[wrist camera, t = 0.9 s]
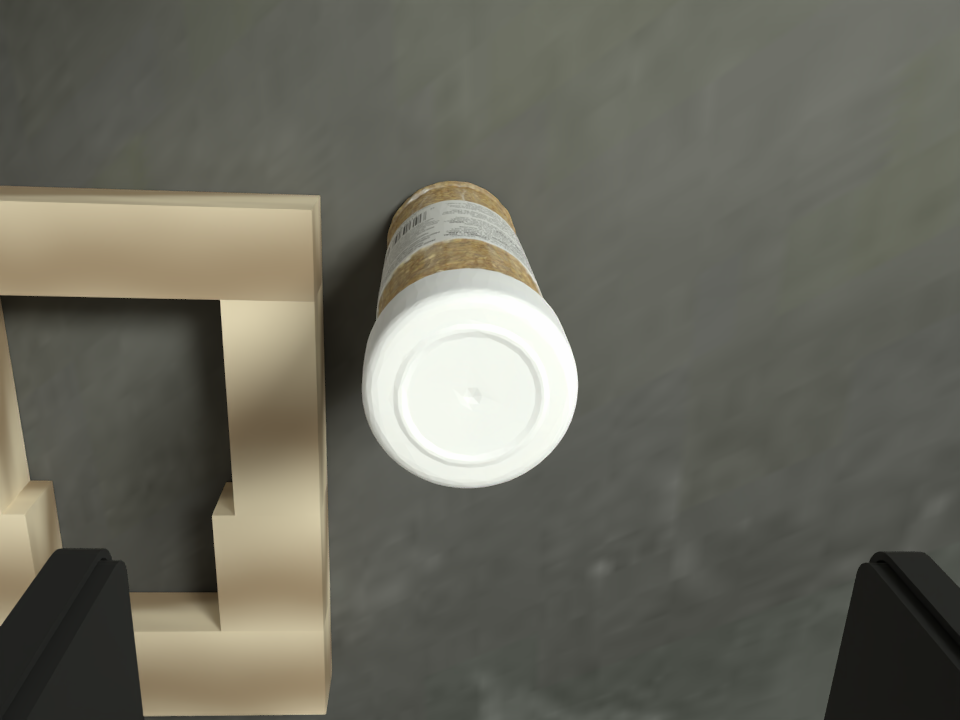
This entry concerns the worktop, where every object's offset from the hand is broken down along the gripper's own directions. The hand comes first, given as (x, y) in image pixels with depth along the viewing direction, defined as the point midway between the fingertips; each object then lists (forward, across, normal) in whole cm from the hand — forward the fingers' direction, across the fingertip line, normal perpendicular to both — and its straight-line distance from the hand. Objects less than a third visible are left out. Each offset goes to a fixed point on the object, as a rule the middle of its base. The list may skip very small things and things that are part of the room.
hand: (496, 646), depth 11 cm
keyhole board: (+21, +12, +8) cm, 25 cm away
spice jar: (+21, 0, 0) cm, 21 cm away
